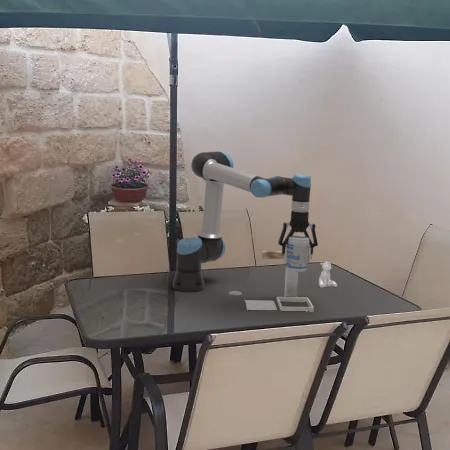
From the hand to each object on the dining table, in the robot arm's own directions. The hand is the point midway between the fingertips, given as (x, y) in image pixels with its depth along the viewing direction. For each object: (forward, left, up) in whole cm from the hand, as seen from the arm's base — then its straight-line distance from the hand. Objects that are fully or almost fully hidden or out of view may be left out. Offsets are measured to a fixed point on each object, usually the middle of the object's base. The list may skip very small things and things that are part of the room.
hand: (296, 261), depth 261 cm
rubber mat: (-15, 0, -21) cm, 25 cm away
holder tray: (0, 0, -21) cm, 21 cm away
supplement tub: (0, 0, -4) cm, 4 cm away
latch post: (0, +11, -21) cm, 23 cm away
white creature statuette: (+21, +34, -21) cm, 45 cm away
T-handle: (-3, +11, -6) cm, 13 cm away
